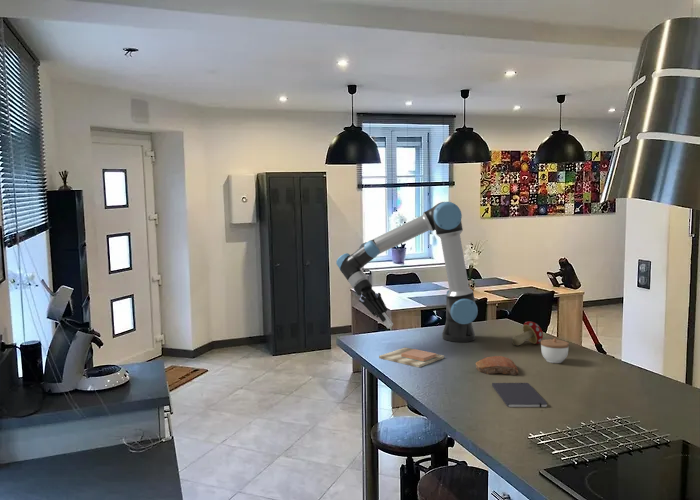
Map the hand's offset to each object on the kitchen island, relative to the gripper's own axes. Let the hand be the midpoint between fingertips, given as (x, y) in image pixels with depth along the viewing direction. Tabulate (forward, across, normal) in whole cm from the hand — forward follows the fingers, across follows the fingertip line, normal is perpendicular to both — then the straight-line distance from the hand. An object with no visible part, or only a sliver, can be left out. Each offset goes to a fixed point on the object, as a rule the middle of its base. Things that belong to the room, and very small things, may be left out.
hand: (390, 326), depth 249 cm
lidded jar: (+49, -34, +31) cm, 68 cm away
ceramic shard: (+40, -8, +22) cm, 47 cm away
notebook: (+55, +14, +37) cm, 68 cm away
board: (+16, 0, -1) cm, 16 cm away
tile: (+17, 0, +3) cm, 18 cm away
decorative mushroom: (+34, -53, +16) cm, 65 cm away
